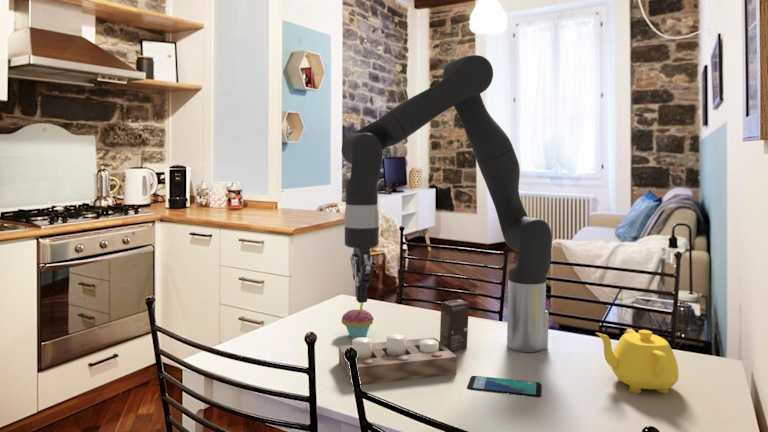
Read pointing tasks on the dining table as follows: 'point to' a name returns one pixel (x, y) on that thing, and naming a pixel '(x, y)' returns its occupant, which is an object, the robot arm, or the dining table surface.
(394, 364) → the board
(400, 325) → the dining table surface
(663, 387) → the teapot
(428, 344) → the button
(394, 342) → the button
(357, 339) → the button
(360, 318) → the cupcake
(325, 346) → the dining table surface
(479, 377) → the smartphone
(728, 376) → the dining table surface
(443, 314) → the box
